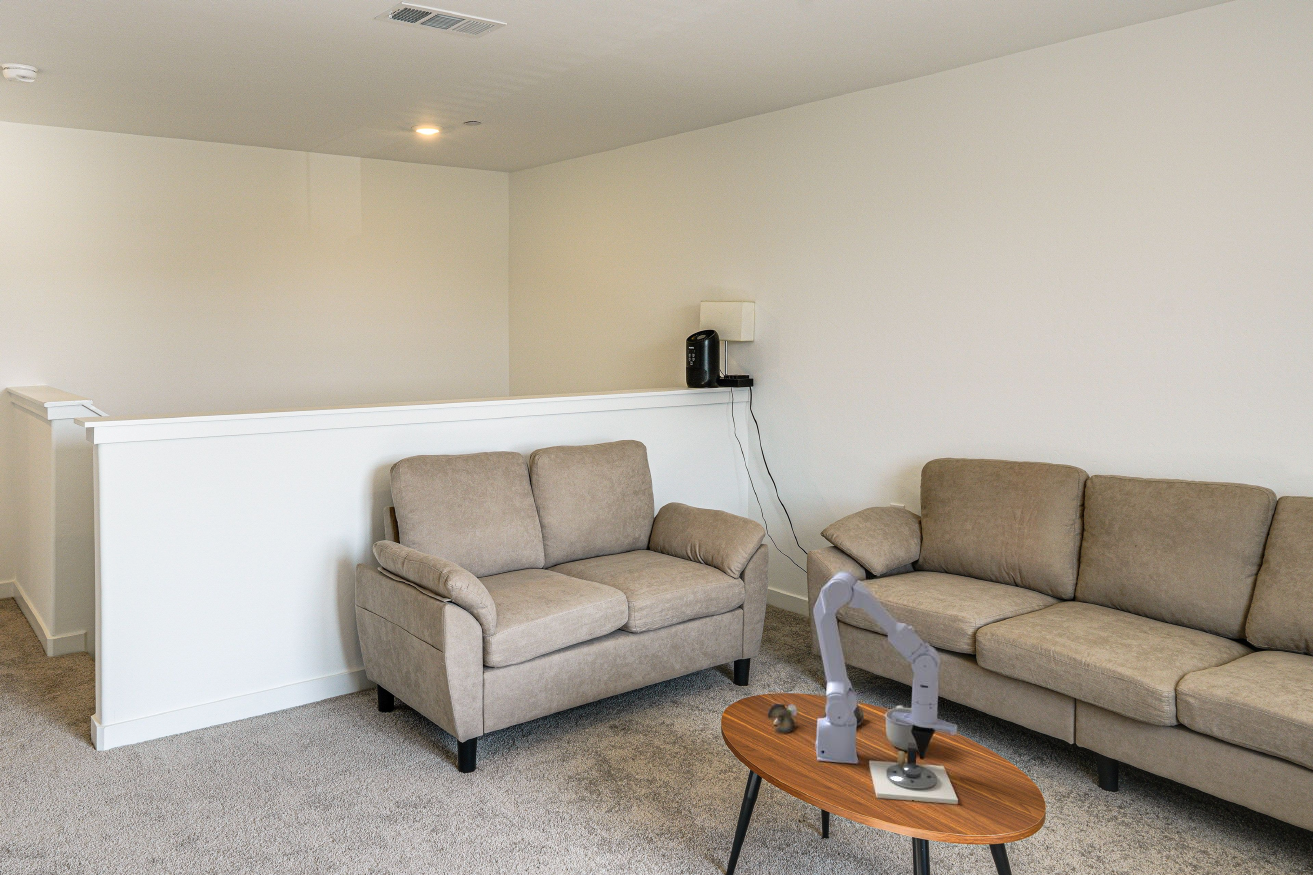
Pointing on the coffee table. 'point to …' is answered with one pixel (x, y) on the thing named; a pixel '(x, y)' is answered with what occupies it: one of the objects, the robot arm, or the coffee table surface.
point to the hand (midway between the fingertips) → (922, 757)
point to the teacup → (899, 729)
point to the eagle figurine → (783, 717)
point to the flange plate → (905, 780)
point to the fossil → (856, 715)
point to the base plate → (893, 791)
